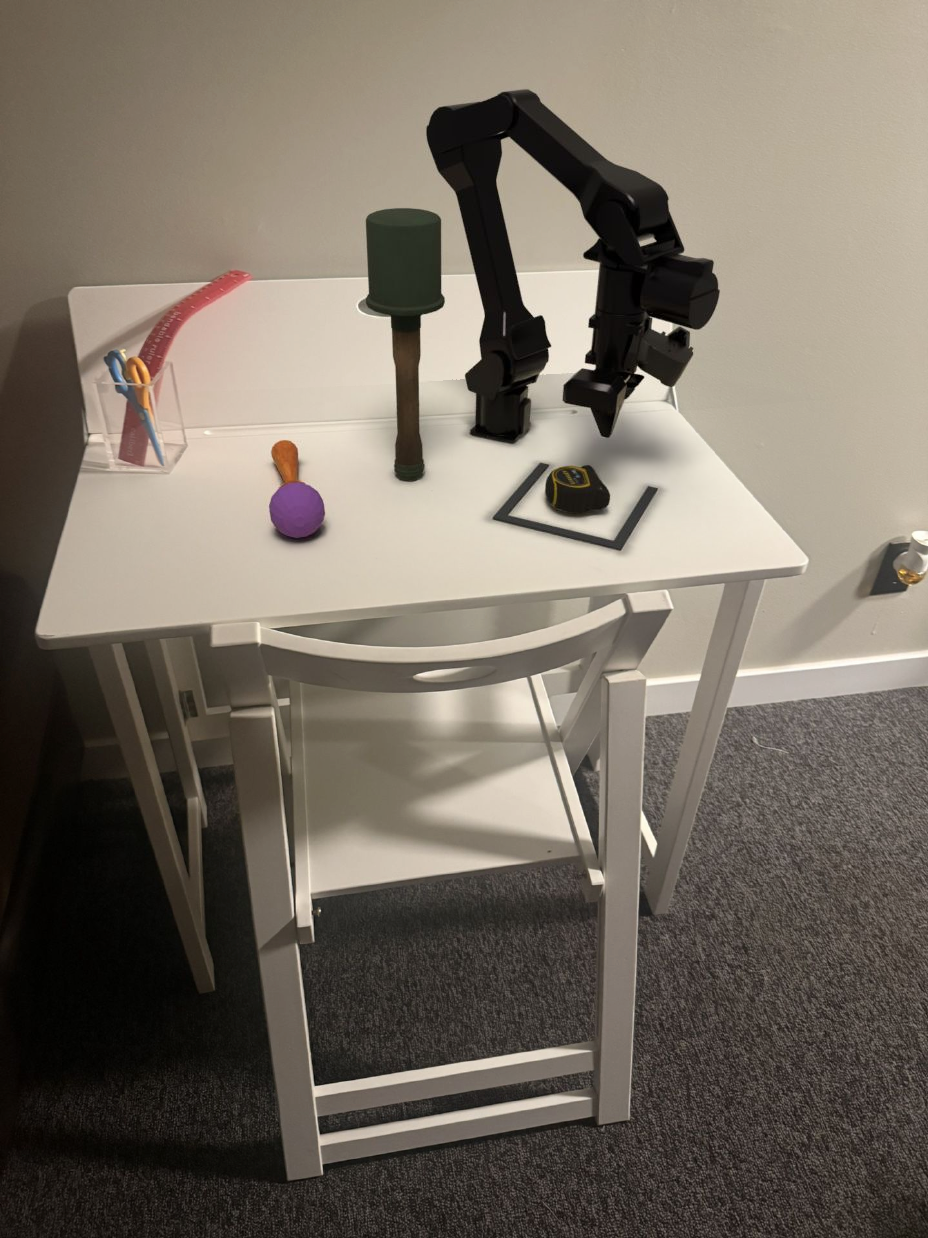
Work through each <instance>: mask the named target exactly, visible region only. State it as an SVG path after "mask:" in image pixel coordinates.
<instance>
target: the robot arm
mask: <svg viewBox="0 0 928 1238" xmlns="http://www.w3.org/2000/svg"><path fill="white" fill-rule="evenodd" d="M425 131H426V132H425V136H426V141H427V145H428V148H429V151H430V154H431V156H432V159H433V162H434V164H435V167H436V170H437V172H438V173H439V175H440V177H442V178H443V179H444V180H445V182H446V183H447V184H448V185H449V187H450V188H451V189H452V190H453V192H454V193H455V196H456V198H457V203H458V207H459V212H460V216H461V220H462V224H463V229H464V233H465V238H466V242H467V245H468V249H469V254H470V259H471V262H472V266H473V271H474V275H475V279H476V282H477V283H476V284H477V287H478V291H479V295H480V301H481V304H482V308H483V313H484V318H483V321H482V325H481V326H482V327H481V331H480V334H479V340H478V343H479V344H478V345H479V353H480V358H481V359H480V360H479V361H478V362H477V363H475V364H474V365H473V366H471V368H470V369H469V370H467V372H465V374H464V379H465V383H466V387H467V388H466V389H467V390H468V391H469V392H471V393H473V394H475V412H474V413H475V416H474V417H475V419H474V426H472V427H471V428H470V429H469V434H470V435H472V436H477V437H482V438H487V439H490V440H491V439H492V440H496V441H501V442H506V443H511V444H513V443H516V442H517V441H518V439H519V438H520V437H522V435H524V433H526V432H527V431H528V429H529V428H530V427H531V425H532V423H531V412H532V409H531V408H532V399H531V398H529V385H532V384H535V383H537V381H538V379H539V377H540V374H541V373H542V372H543V371H544V370H545V368H546V366H547V363H549V359H550V353H549V351H550V350H549V349H550V348H552V344H551V342H550V340H549V337H548V334H547V328H546V327H547V326H546V320H545V318H544V316H543V315H541V314H539V315H536V316H534V315H533V314H532V313H531V311H529V309H528V308H527V307H526V306H525V304H524V302H523V297H522V292H521V287H520V284H519V279H518V275H517V270H516V265H515V261H514V256H513V252H512V247H511V243H510V238H509V235H508V228H507V225H506V220H505V216H504V212H503V207H502V202H501V198H500V193H499V189H498V184H497V179H498V175H499V170H500V165H501V161H502V156H503V148H502V146H503V145H502V141H503V140H506V139H508V138H509V139H511V140H512V141H513V142H514V143H515V144H516V145H517V146H519V148H520V149H522V150H523V151H524V152H525V153H526V154H527V155H528V156H529V157H531V159H533V160H534V161H535V162H537V164H539V166H541V167H542V168H543V169H544V170H545V171H546V172H547V173H548V174H550V176H552V177H553V178H554V179H555V180H556V181H557V182H559V184H560V185H562V186H563V188H565V189H566V190H567V191H569V193H571V194H572V195H573V196H574V198H575V199H576V200H577V201H578V203H579V205H580V209H581V213H582V216H583V219H584V220H585V222H586V223H587V224H588V226H589V228H591V229H592V231H593V232H594V233H595V235H596V236H597V237H598V239H597V240H596V242H595V243H594V244H593V245H592V246H591V247H590V248H588V249H587V250H586V251H584V252H583V254H582V257H583V259H584V260H588V261H593V262H595V263H599V264H598V265H599V267H598V275H597V276H598V277H597V285H596V286H597V287H596V296H595V306H594V313H593V314H592V315H591V316H590V317H589V318H588V324H587V328H589V329H592V334H591V335H592V336H591V345H590V350H588V351H587V352H586V353H585V357H584V364H588V365H592V366H595V367H594V369H589V368H583V367H582V368H581V369H579V370H578V371H576V372H575V373H573V375H572V376H571V377H569V379H568V380H567V381H566V382H565V383H563V387H562V388H563V390H562V399H561V400H562V403H564V404H566V405H572V406H575V407H576V406H577V407H582V408H588V409H590V411H591V414H592V417H593V419H594V422H595V424H596V427H597V429H598V432H599V435H600V437H601V438H606V439H610V437H611V436H612V434H613V433H614V429H615V427H616V424H617V421H618V420H619V416H620V413H621V411H622V408H623V407H624V403H625V401H626V400H628V398H629V397H630V396H631V395H632V394H633V393H634V391H635V390H636V388H637V387H638V386H639V385H640V384H641V383H642V382H643V380H644V379H645V376H644V375H643V374H639V373H636V372H637V370H638V369H640V371H642V372H644V373H646V374H647V375H649V376H651V377H653V378H654V379H656V380H658V381H659V382H660V384H662V385H664V386H665V387H668V388H673V387H674V386H676V384H677V382H678V381H679V380H680V378H681V377H682V375H683V373H684V372H685V370H686V368H687V366H688V365H689V363H690V361H692V358H693V356H694V347H692V346H690V344H691V343H690V342H691V331H690V330H687V329H686V328H688V329H692V330H695V331H698V330H699V331H700V330H702V329H703V328H704V327H705V326H706V325H707V324H708V323H709V321H710V320H711V319H712V317H713V315H714V313H715V311H716V308H717V306H718V303H719V299H720V295H721V294H720V293H721V290H720V289H719V281H718V277H717V275H716V274H715V273H714V272H713V271H714V266H715V265H714V264H715V263H714V262H715V261H714V260H713V259H709V258H705V257H691V256H688V255H684V254H683V253H684V252H685V246H684V243H683V242H682V239H681V237H680V234H679V231H678V230H677V227H676V223H675V221H674V220H673V217H672V214H671V212H670V207H669V206H670V205H669V200H670V198H669V195H668V193H667V191H666V190H665V189H664V188H663V186H662V185H661V184H660V183H658V182H656V181H654V180H653V179H652V178H650V177H647V176H645V175H644V174H642V173H640V172H638V171H637V170H634V169H630V168H628V167H626V166H625V167H624V166H622V165H618V164H616V163H614V162H612V161H610V160H608V159H607V158H606V157H605V156H604V155H602V154H601V153H600V152H599V150H596V148H594V146H592V145H591V144H590V143H589V142H588V141H586V139H584V138H583V137H582V136H581V135H579V134H578V133H577V132H576V131H575V129H572V127H570V126H569V124H567V123H566V122H564V121H563V120H562V119H561V118H560V117H559V116H558V115H556V114H555V113H554V111H552V110H551V109H550V108H548V106H546V104H544V103H543V102H542V101H541V98H540V97H539V96H538V94H537V93H536V92H533V91H532V90H530V89H529V88H525V89H522V88H521V89H515V90H514V89H513V90H507V91H506V90H505V91H501V92H500V93H498V94H497V95H495V96H492V97H490V98H488V99H486V100H482V101H473V102H465V103H458V104H450V105H449V104H448V105H444V106H438V107H437V108H436V109H435V110H434V111H433V112H432V114H431V115H430V117H429V121H428V125H427V126H426V130H425ZM650 239H654V240H655V241H653V242H650V243H647V244H644V245H641V244H640V243H641V242H644V241H647V240H650ZM653 319H656V320H660V321H663V322H667V323H670V324H674V325H678V327H676V328H675V329H673V330H672V331H670V332H669V333H668V334H667V332H666V331H664V330H663V331H662V332H659V331H657V330H655V329H653V328H652V326H653ZM684 327H685V328H684ZM666 334H667V335H666Z"/></svg>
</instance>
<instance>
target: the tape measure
mask: <svg viewBox="0 0 928 1238" xmlns="http://www.w3.org/2000/svg"><path fill="white" fill-rule="evenodd" d="M544 486H545V487H544V494H545V495H544V496H545V498H546V500H547V502H548V503H549V504H550V505H551V506H552V507H553V508H554V509H556V510H559V511H561V512H564V513H570V514H584V513H588V512H593V511H598V510H603V509H605V508H607V507H608V506H609V505H610V501H611V493H610V490H609V489H608V487H607V486H606V484H604V482H603V481H602V480H601V478H600V477H599V475H598V473H597V472H596V470H595V468H594V467H593V466H592V465H590V464H586V465H581V466H576V465H564V466H559V467H557V468H555V469H553V470H551V471H550V473H549V474H548V476H546V480H545V485H544Z"/></svg>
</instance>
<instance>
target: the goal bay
mask: <svg viewBox="0 0 928 1238" xmlns="http://www.w3.org/2000/svg"><path fill="white" fill-rule="evenodd" d="M549 467H550V464H549V463H545V462H539V463H538V464H537V465H536V466H535V467H534V469H533V470H532V471H531V472H530V473H529V474H528V476H527V477H526V478H525V479H524V480H523V482H522V483H520V485H519V486H518V487H517V489H516V490H515V491H514V492H513V493H512V494H511V495H510V497H508V499H507V500H506V501H505V502H504V503H503V505H502V506H501V507H500V508H499V510H497V511H496V513H495V514H494V515H493V516H492V520H494V521H499V522H502V523H506V524H510V525H515V526H519V527H523V528H527V529H531V530H534V531H540V532H542V533H543V532H544V533H548V534H551V535H556V536H559V537H563V538H568V539H571V540H576V541H580V542H583V543H588V544H591V545H596V546H601V547H604V548H609V549H613V550H617V551H622V549H623V548H624V546H625V545H626V543H627V541H628V539H629V538H630V537H631V534H632V533H633V531H634V529H635V528H636V526H637V525H638V523H639V521H640V520H641V518H642V516H643V514H644V513H645V511H646V510H647V508H648V506H649V505H650V504H651V502H652V500H653V499H654V496H656V493H657V491H658V487H654V486H651V485H648V486H646V488H645V490H644V492H643V493H642V495H641V497H640V498H639V500H638V501H637V503H636V504H635V506H634V507H633V509H632V511H631V513H630V514H629V516H628V517H627V519H626V520H625V522H624V523H623V525H622V527H621V528H620V530H619V532H618V533H617V535H616V536H615V538H614V540H613V539H608V538H604V537H600V536H597V535H591V534H587V533H583V532H580V531H576V530H572V529H566V528H562V527H559V526H554V525H551V524H547V523H542V522H538V521H534V520H529V519H525V518H522V517H517V516H513V515H510V513H511V512H512V510H513V509H514V508H515V507H516V506H517V505H518V503H520V502H521V500H522V499H523V498H524V496H525V495H526V494H527V493H528V492H529V491H530V489H531V488H532V487H533V486H534V485H535V484H536V482H537V481H538V480H539V479H540V477H541V476H542V475H543V474H544V473H545V471H547V469H548V468H549Z"/></svg>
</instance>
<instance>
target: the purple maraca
mask: <svg viewBox="0 0 928 1238" xmlns="http://www.w3.org/2000/svg"><path fill="white" fill-rule="evenodd" d="M270 454H271V458H272V460H273V462H274V464H275V466H276V468H277V470H278V472H279V474H280V475H281V478H282V480H283V481H284V483H282V484H281V485H280V486H279V487H278V488H277V490H276V491H275V492H274V493H273V494H272V496H271V498H270V501H269V505H268V509H269V517H270V521H271V523H272V525H273V526H274V528H275V529H276V530H277V531H279V532H280V533H282V534H283V535H285V536H287V537H291V538H294V539H299V538H306V537H309V536H310V535H312V534H314V533H315V532H316V531H317V530H318V529H319V528H320V527H321V525H323V522H324V520H325V516H326V509H325V503H324V499H323V498H322V496H321V494H320V492H319V491H318V490H317V489H315V488H314V487H312V486H311V485H310V484H306V482H303V481H300V480H298V466H299V450H298V446H297V445H296V444H295V443H294V442H293V441H291V440H287V439H283V440H278V441H277V442H275V443H274V444H273V446H272V447H271V450H270Z"/></svg>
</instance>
